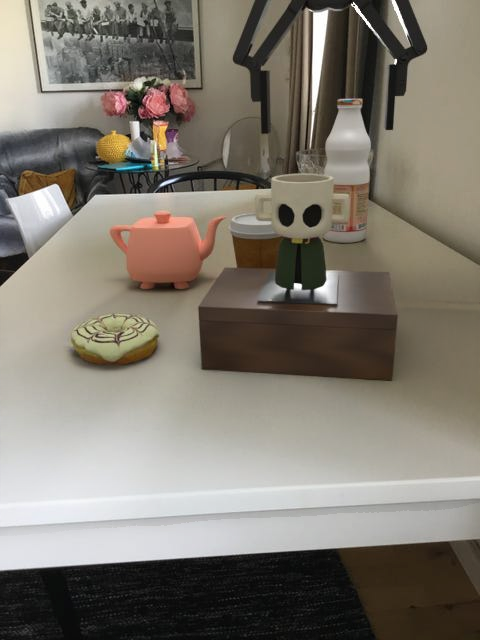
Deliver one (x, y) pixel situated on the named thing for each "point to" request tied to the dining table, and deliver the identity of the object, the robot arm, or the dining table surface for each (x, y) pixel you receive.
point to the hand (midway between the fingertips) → (326, 131)
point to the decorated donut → (115, 338)
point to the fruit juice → (349, 170)
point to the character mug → (301, 225)
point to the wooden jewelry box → (300, 325)
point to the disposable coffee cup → (254, 242)
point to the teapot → (165, 249)
